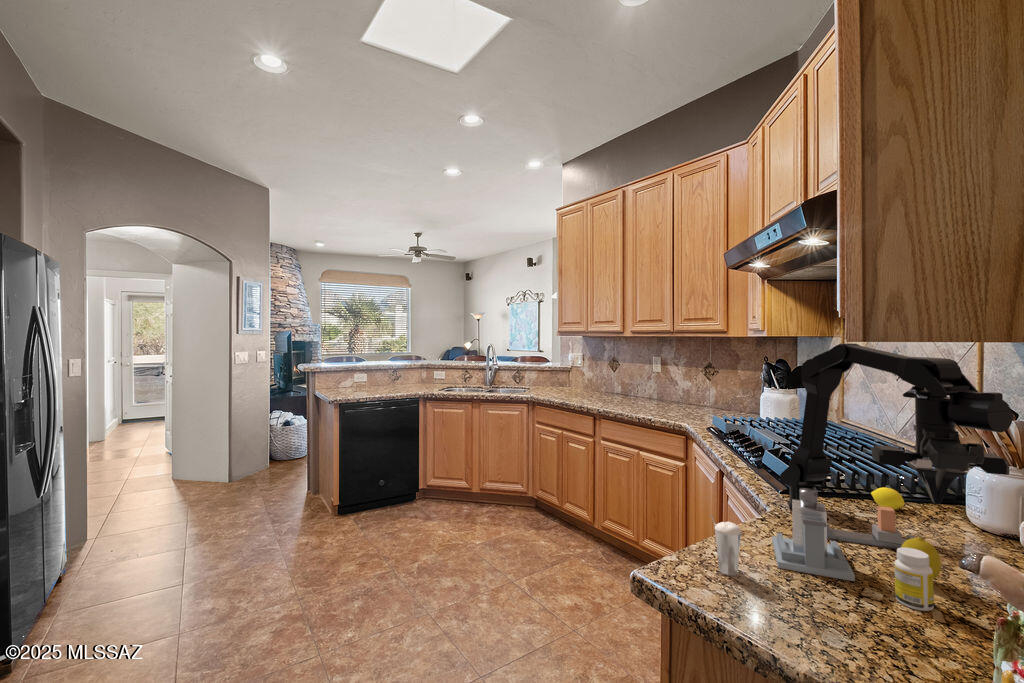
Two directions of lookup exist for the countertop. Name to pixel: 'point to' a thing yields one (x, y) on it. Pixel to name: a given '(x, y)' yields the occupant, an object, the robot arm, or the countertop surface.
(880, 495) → the lemon
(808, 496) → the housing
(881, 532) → the lever
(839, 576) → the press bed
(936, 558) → the lemon
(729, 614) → the countertop surface
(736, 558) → the milkshake
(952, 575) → the countertop surface
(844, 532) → the rail
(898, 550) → the supplement bottle
